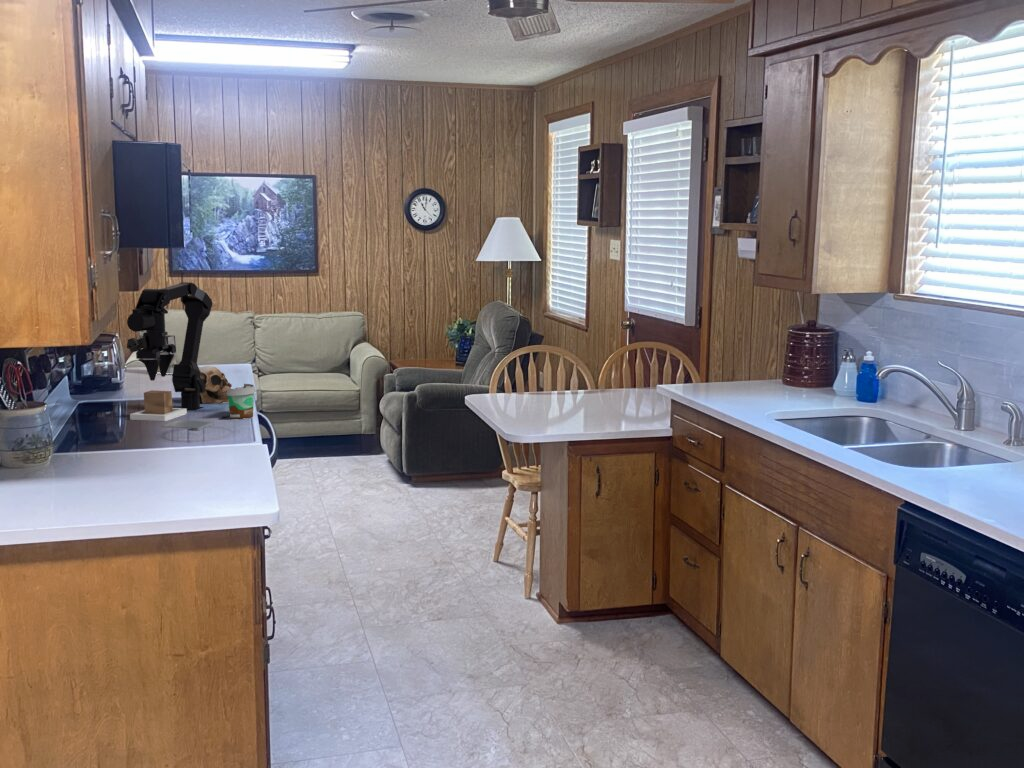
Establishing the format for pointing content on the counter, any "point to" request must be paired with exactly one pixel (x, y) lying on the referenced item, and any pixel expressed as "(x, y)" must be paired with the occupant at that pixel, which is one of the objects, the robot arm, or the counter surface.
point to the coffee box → (170, 340)
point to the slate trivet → (189, 424)
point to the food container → (241, 401)
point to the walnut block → (158, 402)
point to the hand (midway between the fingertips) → (157, 378)
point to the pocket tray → (156, 417)
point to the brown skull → (214, 385)
